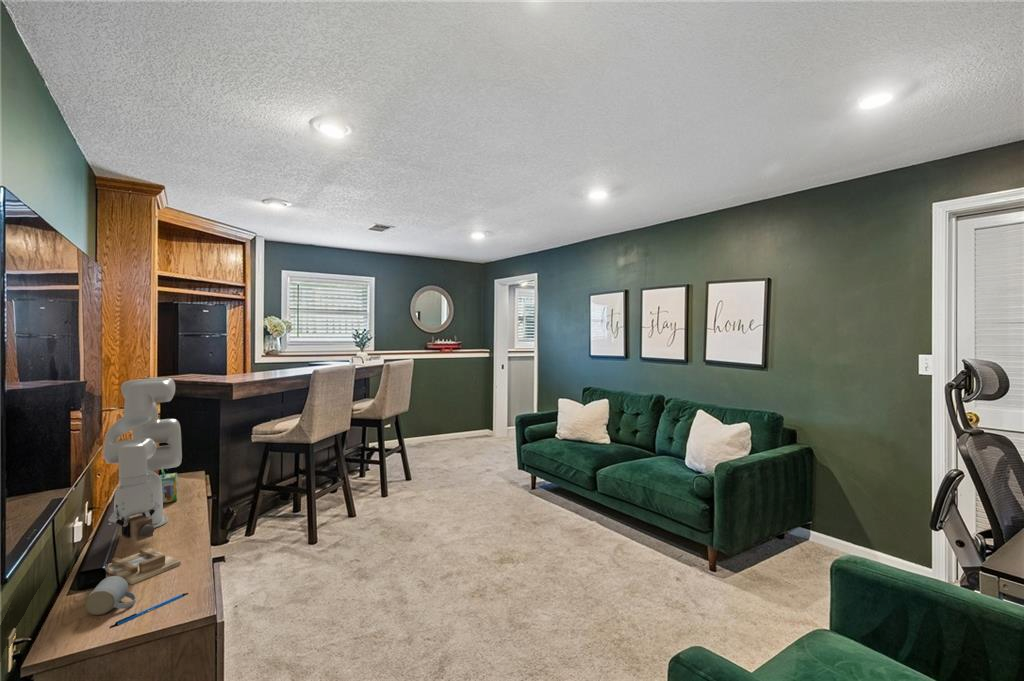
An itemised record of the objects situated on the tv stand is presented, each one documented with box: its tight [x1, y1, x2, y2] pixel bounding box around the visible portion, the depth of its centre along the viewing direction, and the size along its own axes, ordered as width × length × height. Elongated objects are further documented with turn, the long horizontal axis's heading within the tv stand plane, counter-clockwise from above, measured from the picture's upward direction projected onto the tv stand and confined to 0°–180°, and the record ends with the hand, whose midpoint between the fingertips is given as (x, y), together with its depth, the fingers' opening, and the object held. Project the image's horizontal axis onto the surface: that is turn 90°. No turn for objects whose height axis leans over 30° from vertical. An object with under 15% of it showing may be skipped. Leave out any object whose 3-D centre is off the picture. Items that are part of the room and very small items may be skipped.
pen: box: [109, 592, 189, 629], centre depth 136 cm, size 1×19×1 cm, turn 147°
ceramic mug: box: [84, 575, 137, 616], centre depth 137 cm, size 11×8×8 cm
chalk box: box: [158, 469, 179, 504], centre depth 223 cm, size 9×9×15 cm
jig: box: [107, 547, 182, 585], centre depth 160 cm, size 20×14×4 cm
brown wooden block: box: [117, 514, 155, 542], centre depth 161 cm, size 14×4×6 cm, turn 63°
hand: (136, 533), depth 161 cm, fingers closed on brown wooden block, 4 cm apart
